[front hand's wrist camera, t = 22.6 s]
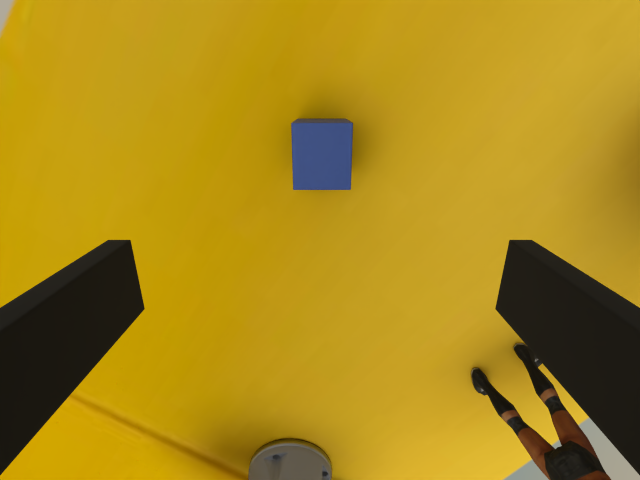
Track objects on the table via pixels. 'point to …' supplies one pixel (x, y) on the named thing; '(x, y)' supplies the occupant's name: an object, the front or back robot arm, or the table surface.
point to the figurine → (576, 451)
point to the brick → (322, 154)
